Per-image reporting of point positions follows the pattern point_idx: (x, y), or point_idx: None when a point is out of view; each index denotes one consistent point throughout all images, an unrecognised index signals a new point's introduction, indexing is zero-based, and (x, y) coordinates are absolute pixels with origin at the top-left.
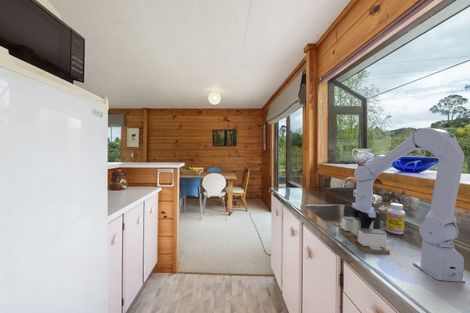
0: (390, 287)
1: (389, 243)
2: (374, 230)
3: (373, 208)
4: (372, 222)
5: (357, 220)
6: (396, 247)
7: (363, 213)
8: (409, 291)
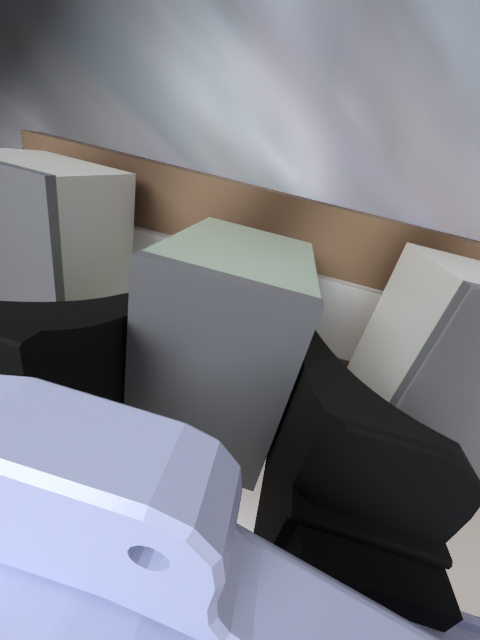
0: None
1: (348, 11)
2: (465, 397)
3: (212, 590)
4: (316, 316)
5: (242, 479)
6: (459, 15)
7: (71, 378)
8: None
